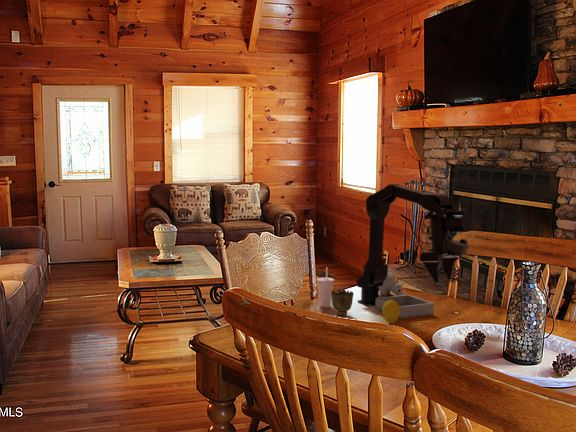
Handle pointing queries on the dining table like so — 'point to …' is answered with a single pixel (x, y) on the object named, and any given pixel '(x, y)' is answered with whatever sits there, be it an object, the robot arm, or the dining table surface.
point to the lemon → (390, 311)
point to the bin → (408, 306)
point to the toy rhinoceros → (391, 286)
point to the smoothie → (325, 290)
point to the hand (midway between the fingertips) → (443, 280)
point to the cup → (342, 301)
